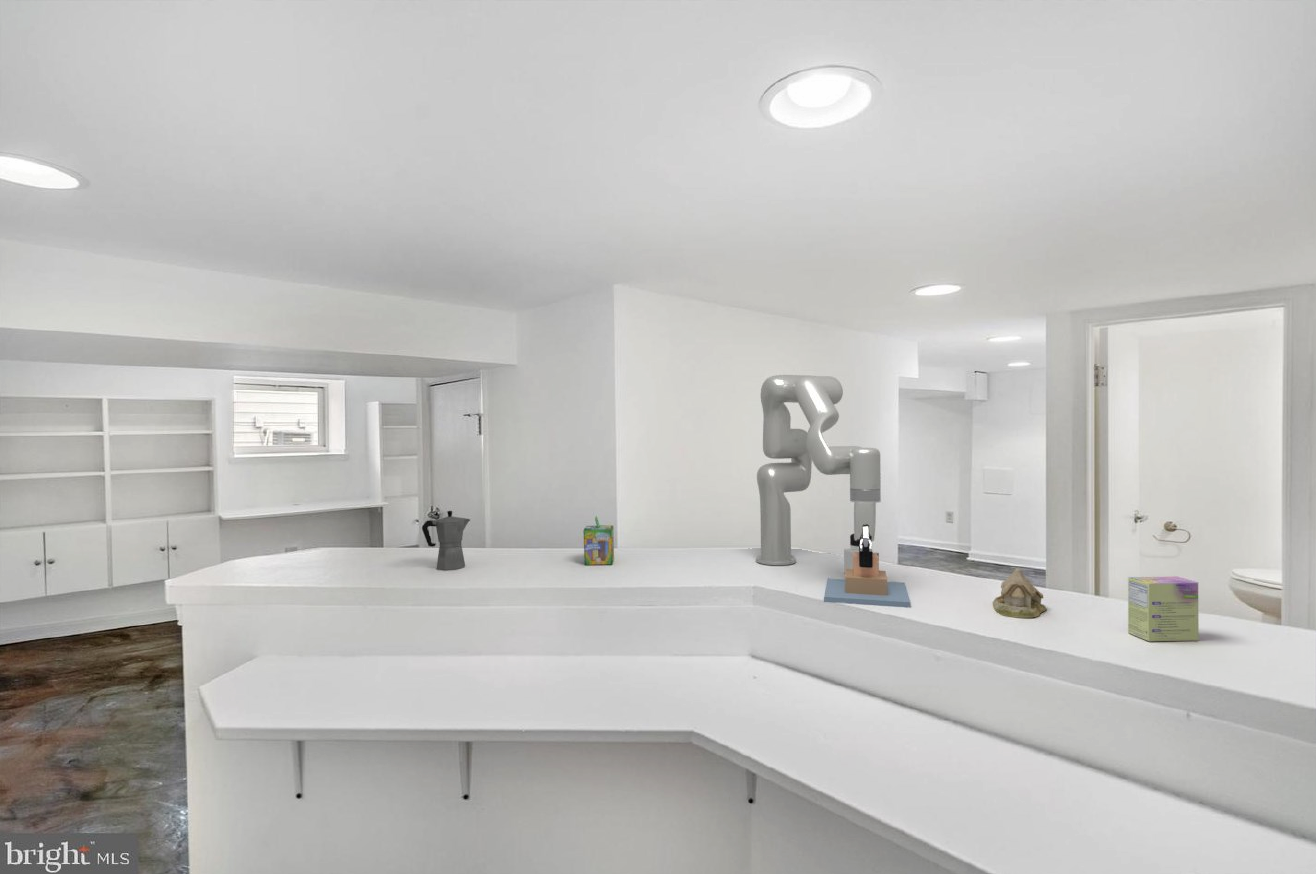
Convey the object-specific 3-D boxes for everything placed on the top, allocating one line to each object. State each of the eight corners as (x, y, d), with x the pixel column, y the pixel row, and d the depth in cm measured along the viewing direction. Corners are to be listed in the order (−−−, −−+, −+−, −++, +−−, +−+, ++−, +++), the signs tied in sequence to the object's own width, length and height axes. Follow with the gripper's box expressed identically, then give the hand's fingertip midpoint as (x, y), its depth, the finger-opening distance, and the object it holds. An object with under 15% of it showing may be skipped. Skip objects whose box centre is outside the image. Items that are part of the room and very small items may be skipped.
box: (1175, 632, 135) (1175, 575, 134) (1199, 641, 129) (1199, 582, 129) (1126, 633, 134) (1126, 576, 134) (1148, 642, 129) (1148, 583, 128)
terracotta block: (853, 570, 171) (853, 551, 171) (877, 572, 169) (877, 552, 169) (853, 576, 165) (853, 556, 165) (878, 577, 164) (878, 557, 164)
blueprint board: (827, 582, 180) (827, 563, 180) (904, 587, 174) (904, 567, 174) (824, 601, 161) (823, 580, 161) (910, 607, 155) (910, 585, 155)
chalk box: (612, 565, 206) (611, 518, 206) (583, 565, 206) (582, 519, 206) (615, 559, 215) (614, 514, 215) (587, 559, 215) (586, 515, 215)
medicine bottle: (857, 578, 184) (857, 536, 184) (843, 573, 191) (843, 532, 191) (879, 576, 186) (879, 534, 186) (865, 571, 193) (864, 531, 193)
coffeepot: (464, 562, 214) (463, 507, 213) (476, 566, 207) (475, 510, 206) (417, 569, 204) (416, 512, 204) (428, 574, 197) (427, 515, 196)
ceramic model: (993, 600, 161) (993, 560, 160) (1046, 606, 155) (1046, 564, 155) (990, 615, 148) (990, 571, 148) (1047, 622, 143) (1047, 577, 143)
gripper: (850, 492, 176) (850, 556, 177) (849, 499, 160) (850, 570, 160) (879, 492, 174) (879, 557, 175) (881, 499, 158) (882, 571, 158)
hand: (865, 563), depth 167 cm, fingers open, 8 cm apart
